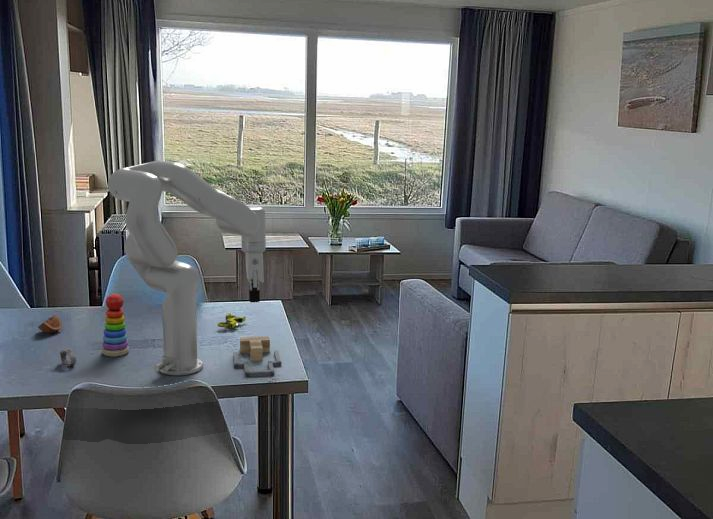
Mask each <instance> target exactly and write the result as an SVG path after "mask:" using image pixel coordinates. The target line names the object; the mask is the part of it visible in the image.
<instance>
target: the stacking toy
mask: <svg viewBox="0 0 713 519" xmlns="http://www.w3.org/2000/svg"><path fill="white" fill-rule="evenodd" d="M105 306H106V307H107V310H106V311H105V315H106V316H105V322H106V323H105V324H104V330H103V337H102V340H103V342H102V348H101V353H102V355H104V356H106V357H115V358H116V357H120V356H124V355H126V354H127V353H129V351H130V347H129V341H128V335H127V334H126V333H127V329H126V322H125V316H124V309H122V307H123V306H124V299H123V297H122V296H121V295H120V294H118V293H111V294H109V295H107V297H106V299H105Z"/></svg>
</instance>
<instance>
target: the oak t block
mask: <svg viewBox="0 0 713 519" xmlns="http://www.w3.org/2000/svg"><path fill="white" fill-rule="evenodd" d="M270 339H271V338H270V336H269V335H267V336H248V337H247V336H243V337H239V351H240V354H249V357H250V361H251V362H254V361H255V362H256V361H257V362H259V361H264V359H263V358H264V357H263V355H264V354H263V353H270V352H271V349H270V346H271V344H270V343H271V340H270Z"/></svg>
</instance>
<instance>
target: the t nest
mask: <svg viewBox="0 0 713 519" xmlns="http://www.w3.org/2000/svg"><path fill="white" fill-rule="evenodd" d="M273 355H274V359H275V360H270V361H269V360H268V361H267V368H268V369H264V370H250V368H249V362H247V361H245V362H239V356H238V352H237V351H235V352H232V357H233V358H232V359H233V365H234V366H233V367H234V369H243V370H244V377H245V378H248V377H251V378H252V377H270V376H275V368H274V367H282V359H281V356H280V352H279V349H278V350H277V349H275V350H273Z"/></svg>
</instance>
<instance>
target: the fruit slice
mask: <svg viewBox="0 0 713 519" xmlns="http://www.w3.org/2000/svg"><path fill="white" fill-rule="evenodd" d="M62 324H63V323H62V321H61V319H60V318H59V316H58V315H57V314H54V315H53V316H51V317H50V318H47V320H45V321H43V322H42V323H41V324H40V325H38V326H37V328H38V329H39V330H40V331H42V332H44V333H47V334H53V333H57V332H58V331H60V330H61V329H62V327H63V325H62Z"/></svg>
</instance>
